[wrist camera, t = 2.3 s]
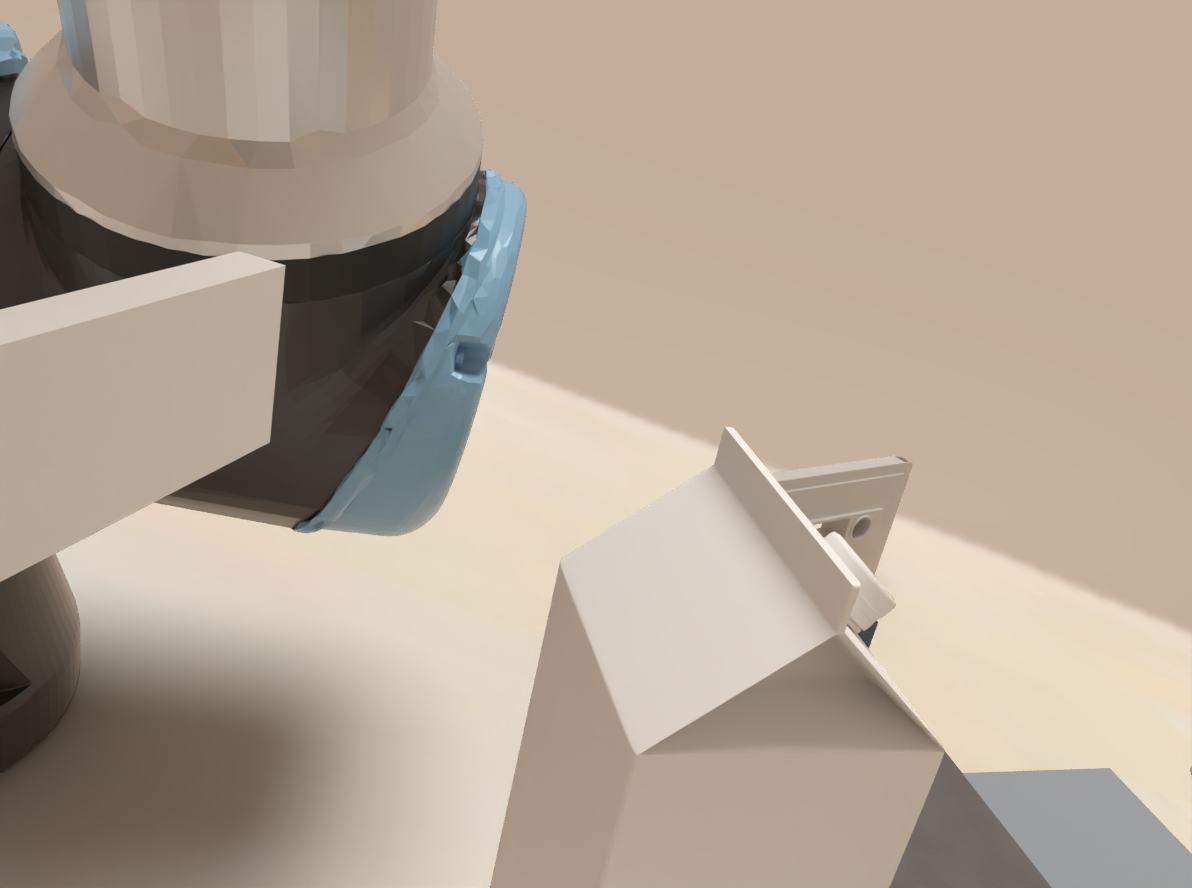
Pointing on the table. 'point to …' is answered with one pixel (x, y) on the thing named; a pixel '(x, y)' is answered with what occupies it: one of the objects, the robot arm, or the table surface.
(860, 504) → the cassette
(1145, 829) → the slate mat
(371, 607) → the table surface
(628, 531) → the milk carton
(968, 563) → the table surface
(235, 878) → the table surface
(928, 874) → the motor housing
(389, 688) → the table surface
